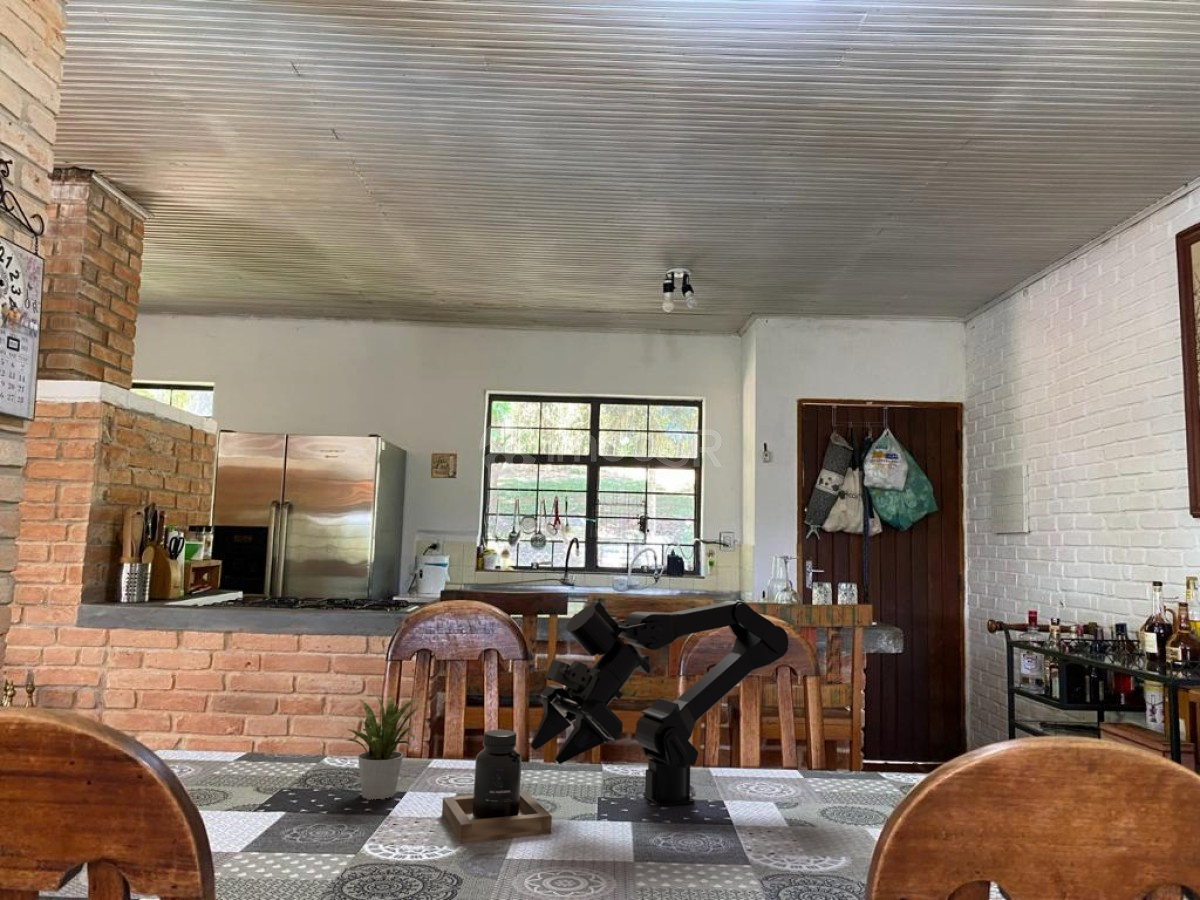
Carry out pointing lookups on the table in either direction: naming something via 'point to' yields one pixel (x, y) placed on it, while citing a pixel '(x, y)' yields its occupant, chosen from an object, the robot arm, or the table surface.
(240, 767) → the table surface
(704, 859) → the table surface
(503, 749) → the supplement bottle
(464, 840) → the holder
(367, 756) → the house plant
